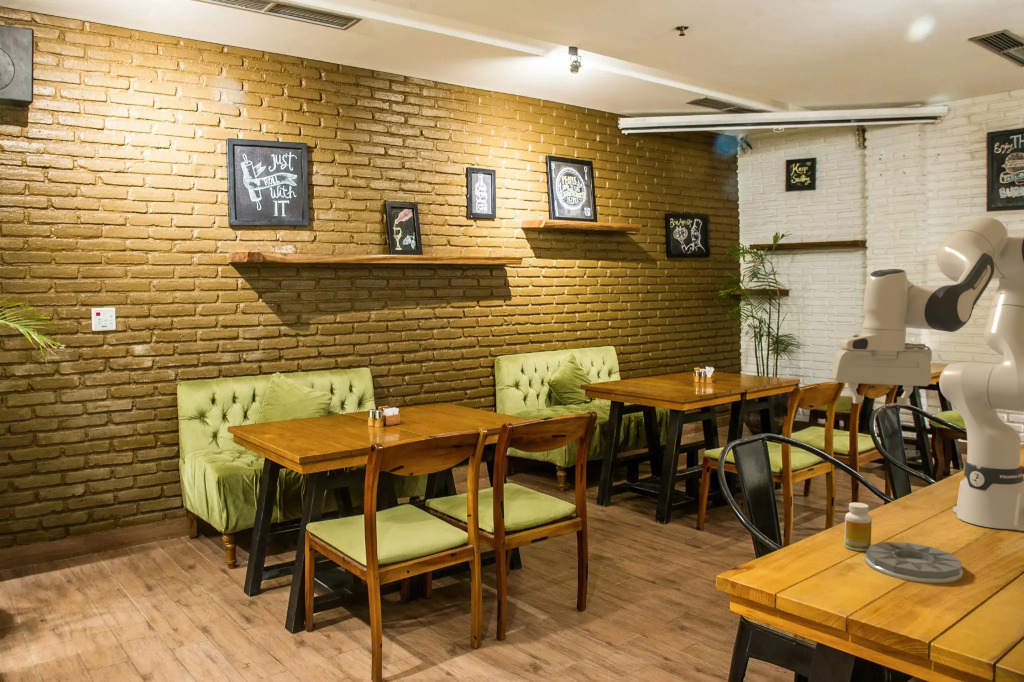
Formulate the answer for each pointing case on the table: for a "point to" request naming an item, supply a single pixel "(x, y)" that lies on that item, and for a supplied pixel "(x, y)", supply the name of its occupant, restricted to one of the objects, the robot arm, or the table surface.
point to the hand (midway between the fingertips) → (879, 404)
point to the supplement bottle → (858, 527)
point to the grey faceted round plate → (914, 562)
